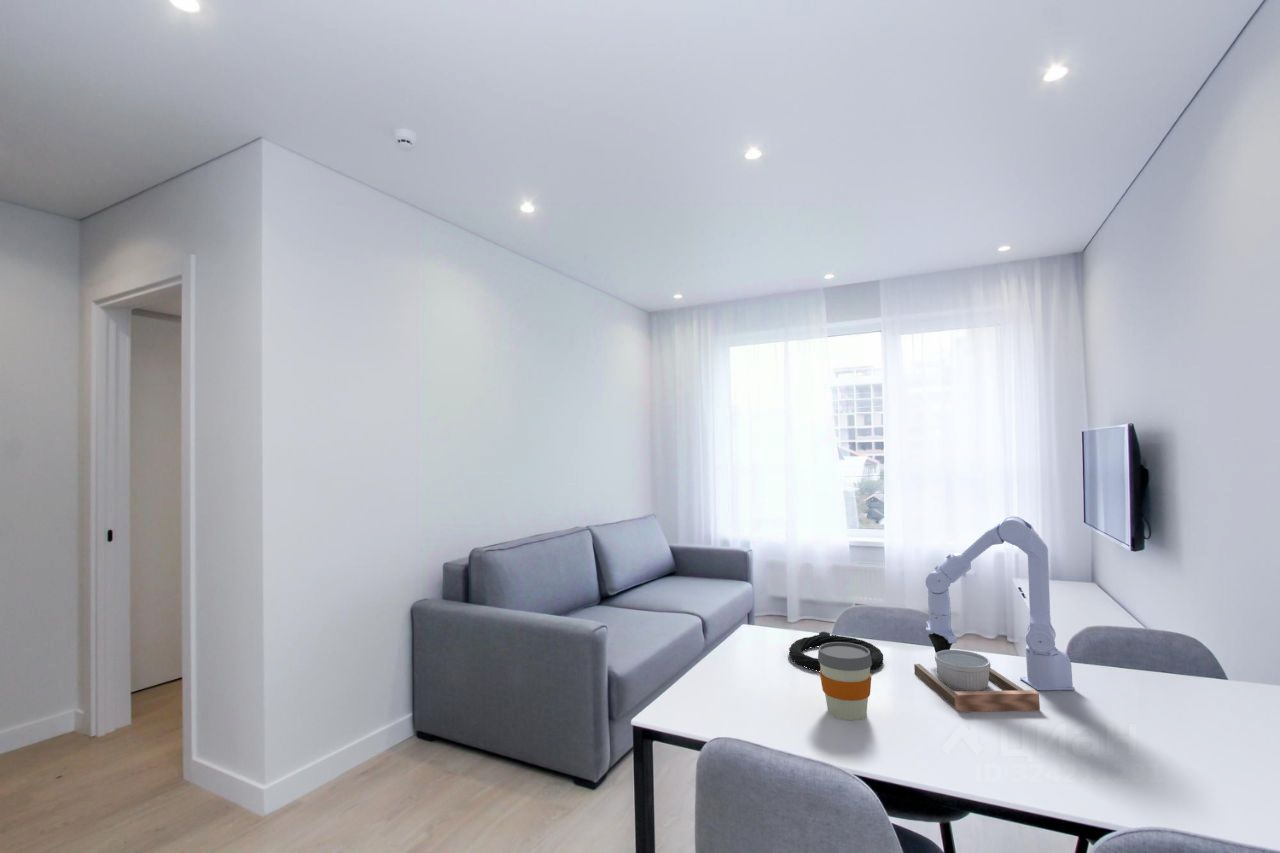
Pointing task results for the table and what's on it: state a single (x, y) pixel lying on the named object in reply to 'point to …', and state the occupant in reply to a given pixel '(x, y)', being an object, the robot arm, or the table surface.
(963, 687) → the ramekin
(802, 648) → the cable lock
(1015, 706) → the wooden serving tray
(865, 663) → the reusable coffee cup
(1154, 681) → the table surface
